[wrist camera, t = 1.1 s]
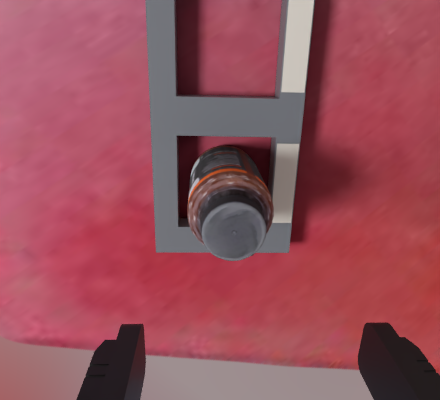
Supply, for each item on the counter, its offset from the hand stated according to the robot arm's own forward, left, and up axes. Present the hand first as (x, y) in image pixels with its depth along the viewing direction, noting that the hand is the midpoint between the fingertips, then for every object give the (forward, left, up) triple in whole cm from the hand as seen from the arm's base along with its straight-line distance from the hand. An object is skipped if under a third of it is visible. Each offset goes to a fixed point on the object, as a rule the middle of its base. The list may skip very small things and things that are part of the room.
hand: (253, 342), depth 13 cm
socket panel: (0, -5, -21) cm, 21 cm away
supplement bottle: (0, 0, -21) cm, 21 cm away
